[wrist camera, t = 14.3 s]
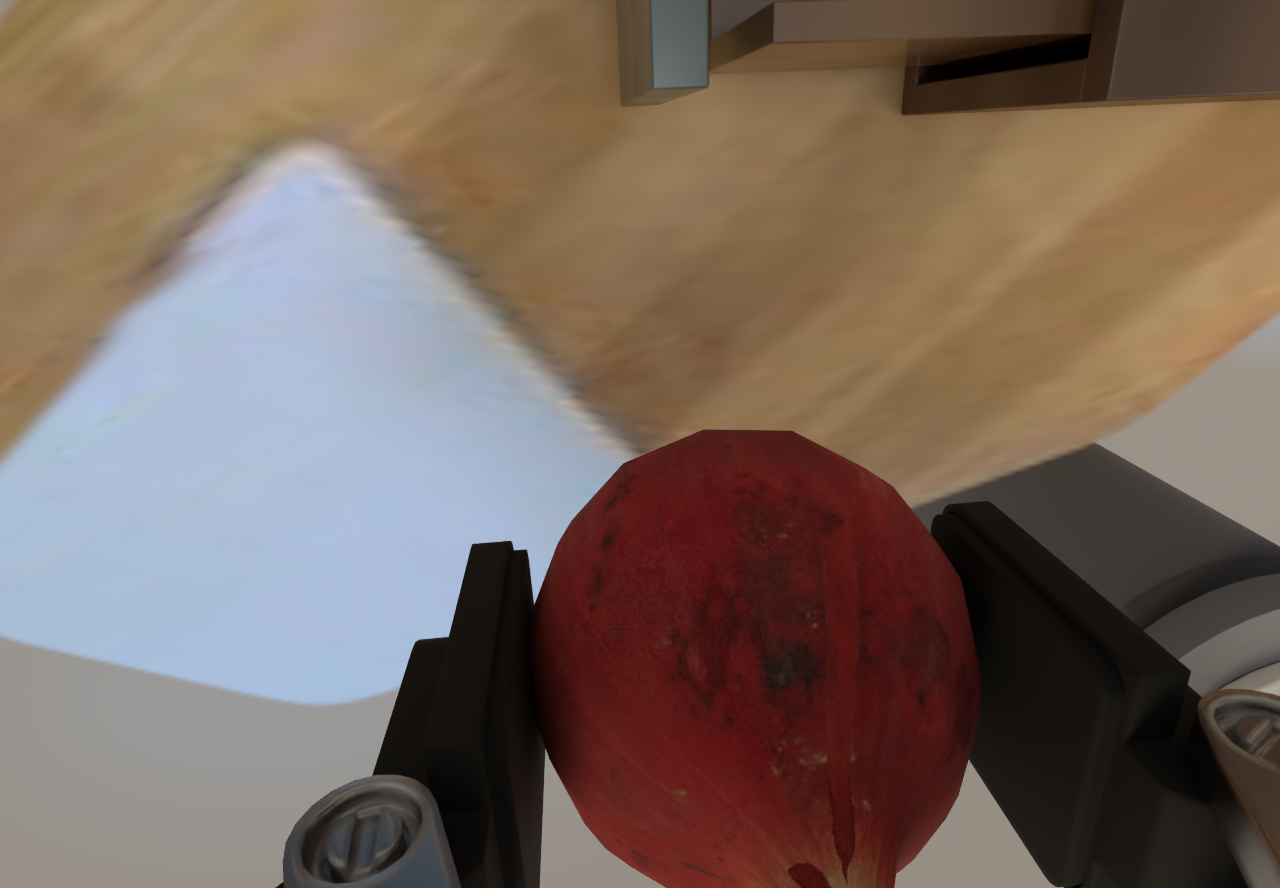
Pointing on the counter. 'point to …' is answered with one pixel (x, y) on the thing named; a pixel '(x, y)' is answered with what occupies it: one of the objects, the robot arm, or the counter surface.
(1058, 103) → the cabinet
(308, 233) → the counter surface
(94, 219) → the counter surface
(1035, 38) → the drawer
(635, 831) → the onion
